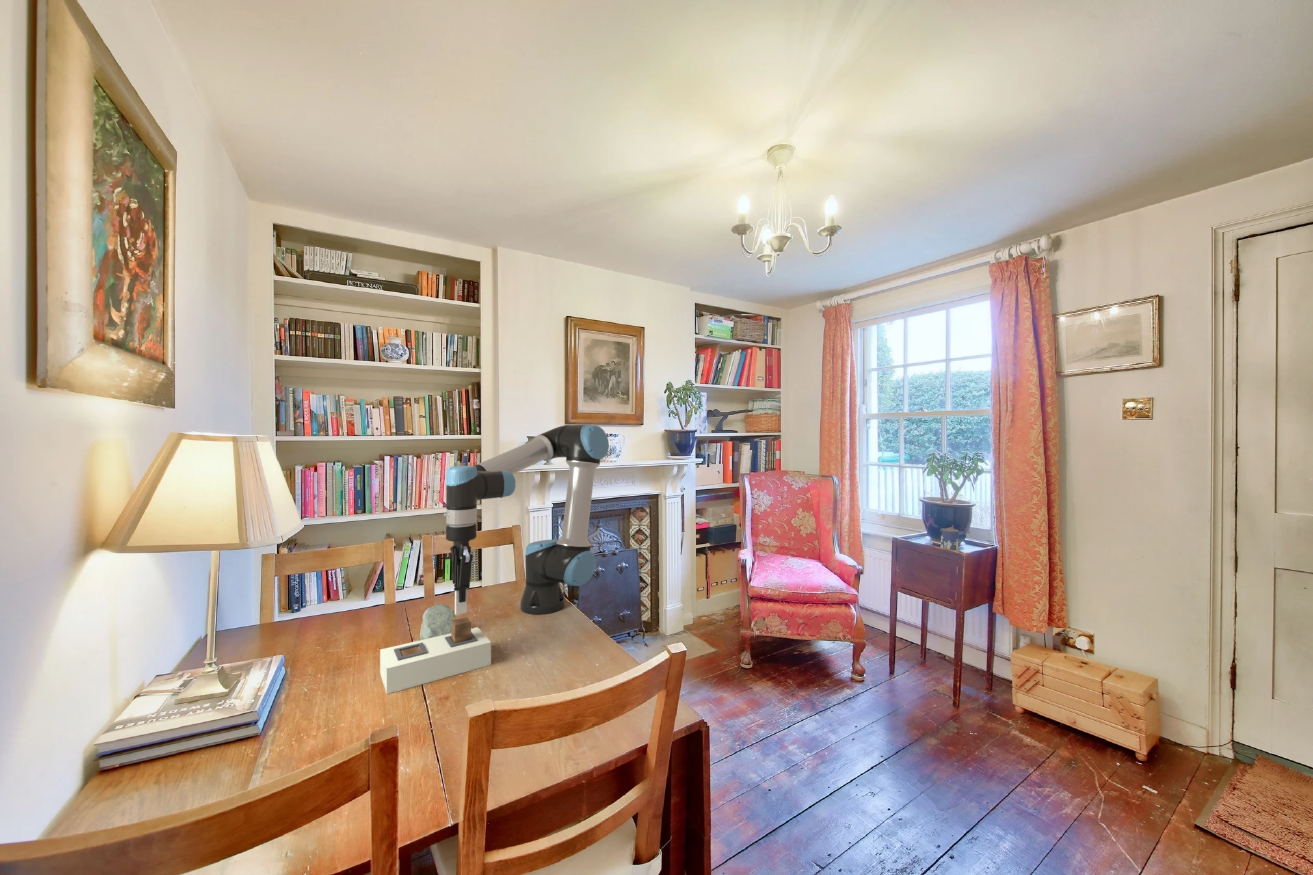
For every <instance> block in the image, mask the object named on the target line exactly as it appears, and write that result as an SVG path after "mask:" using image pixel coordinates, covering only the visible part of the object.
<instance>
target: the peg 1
mask: <svg viewBox="0 0 1313 875" xmlns="http://www.w3.org/2000/svg"><path fill="white" fill-rule="evenodd" d="M418 652H421V651H420V649H419V647H415V648H410V649H406V650H402V651H401V655H402V656H406V655H410V654H414V653H418Z"/></svg>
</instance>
